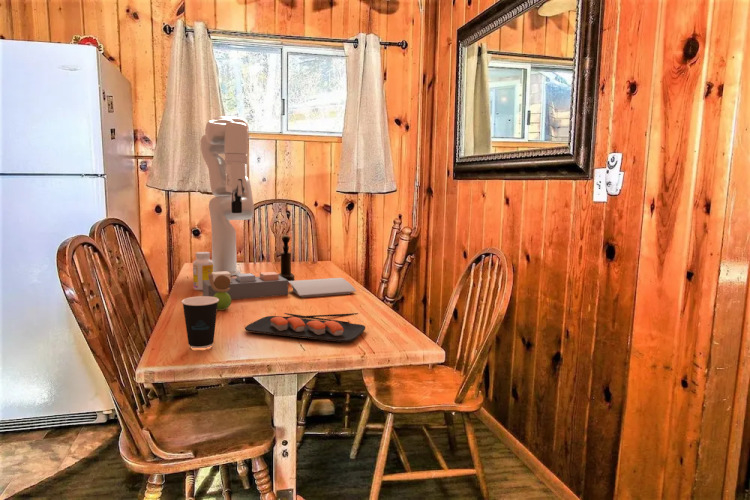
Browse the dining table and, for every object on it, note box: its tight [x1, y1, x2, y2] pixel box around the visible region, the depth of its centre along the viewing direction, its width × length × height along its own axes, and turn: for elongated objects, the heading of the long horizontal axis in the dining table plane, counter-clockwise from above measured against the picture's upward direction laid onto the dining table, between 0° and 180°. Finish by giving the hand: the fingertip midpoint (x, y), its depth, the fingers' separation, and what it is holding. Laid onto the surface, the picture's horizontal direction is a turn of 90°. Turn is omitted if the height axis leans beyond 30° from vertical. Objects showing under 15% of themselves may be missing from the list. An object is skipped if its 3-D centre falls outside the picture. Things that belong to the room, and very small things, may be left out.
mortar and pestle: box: [278, 234, 295, 284], centre depth 193 cm, size 7×6×18 cm
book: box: [288, 277, 357, 299], centre depth 176 cm, size 15×23×4 cm, turn 116°
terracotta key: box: [259, 271, 280, 281], centre depth 172 cm, size 5×5×4 cm
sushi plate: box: [244, 312, 366, 343], centre depth 135 cm, size 29×30×4 cm
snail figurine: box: [208, 270, 232, 311], centre depth 147 cm, size 5×6×12 cm
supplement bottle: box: [192, 251, 213, 291], centre depth 176 cm, size 7×7×13 cm
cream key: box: [212, 271, 232, 283], centre depth 164 cm, size 5×5×4 cm
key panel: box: [202, 276, 289, 301], centre depth 168 cm, size 10×26×5 cm, turn 119°
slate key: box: [235, 273, 256, 282], centre depth 168 cm, size 5×5×4 cm
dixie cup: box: [181, 295, 219, 348], centre depth 114 cm, size 8×8×11 cm
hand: (236, 212), depth 176 cm, fingers closed
